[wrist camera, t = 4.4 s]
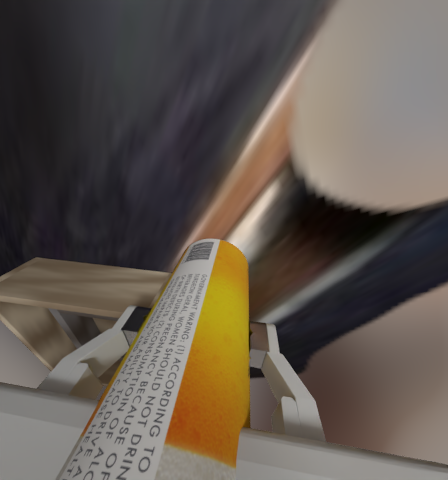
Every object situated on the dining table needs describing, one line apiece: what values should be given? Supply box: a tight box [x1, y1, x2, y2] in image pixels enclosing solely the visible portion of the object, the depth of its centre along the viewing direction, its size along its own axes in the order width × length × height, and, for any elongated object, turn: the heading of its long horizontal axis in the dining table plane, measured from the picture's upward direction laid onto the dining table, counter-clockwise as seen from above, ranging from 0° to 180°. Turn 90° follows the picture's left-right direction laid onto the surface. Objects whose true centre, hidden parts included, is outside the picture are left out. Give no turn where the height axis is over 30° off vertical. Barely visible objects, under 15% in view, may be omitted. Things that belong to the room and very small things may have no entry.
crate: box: [0, 257, 172, 387], centre depth 20 cm, size 16×16×5 cm
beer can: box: [55, 239, 250, 480], centre depth 10 cm, size 6×6×15 cm
